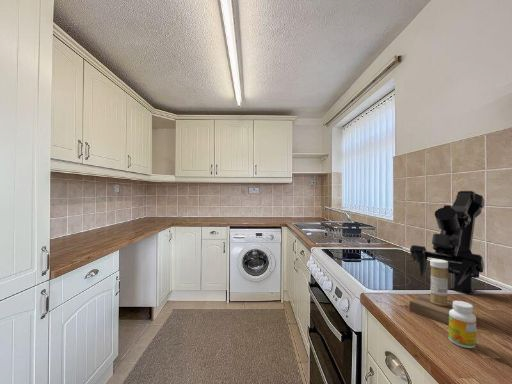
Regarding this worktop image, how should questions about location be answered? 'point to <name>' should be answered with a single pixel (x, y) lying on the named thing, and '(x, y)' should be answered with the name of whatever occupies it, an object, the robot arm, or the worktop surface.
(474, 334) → the supplement bottle
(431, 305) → the walnut block
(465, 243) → the robot arm
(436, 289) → the sprinkles bottle
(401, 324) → the worktop surface
